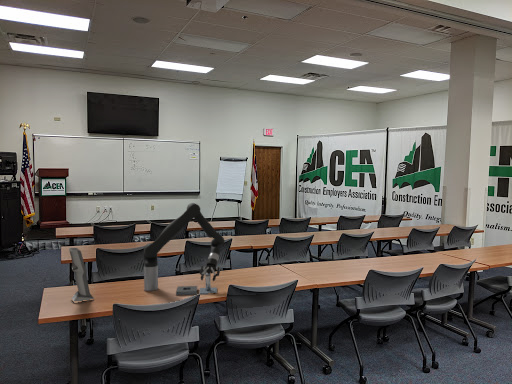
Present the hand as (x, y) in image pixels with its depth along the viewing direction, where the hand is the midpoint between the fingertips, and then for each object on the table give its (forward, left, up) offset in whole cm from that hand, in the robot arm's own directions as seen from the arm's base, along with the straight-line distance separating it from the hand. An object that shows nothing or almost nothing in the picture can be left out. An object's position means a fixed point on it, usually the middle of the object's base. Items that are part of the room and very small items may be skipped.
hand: (207, 280), depth 267 cm
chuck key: (0, +1, -8) cm, 8 cm away
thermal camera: (-83, -6, -9) cm, 83 cm away
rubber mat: (0, +1, -8) cm, 9 cm away
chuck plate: (-15, +1, -8) cm, 17 cm away
